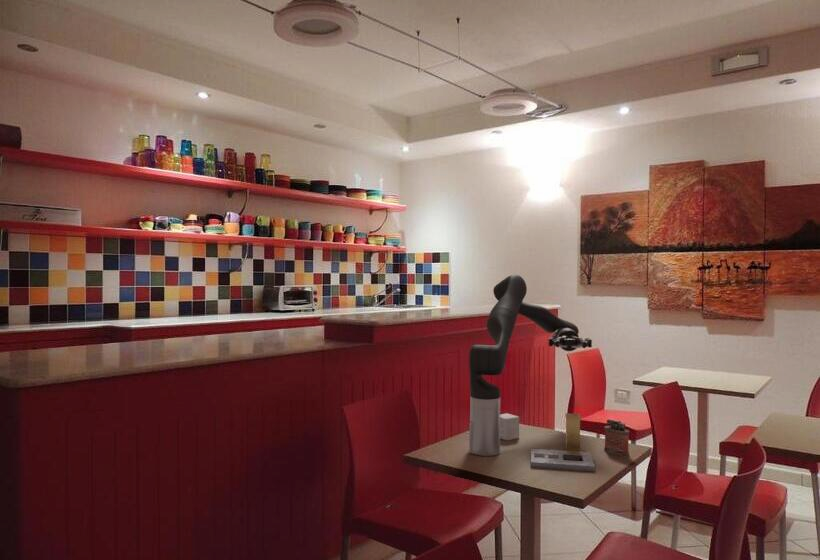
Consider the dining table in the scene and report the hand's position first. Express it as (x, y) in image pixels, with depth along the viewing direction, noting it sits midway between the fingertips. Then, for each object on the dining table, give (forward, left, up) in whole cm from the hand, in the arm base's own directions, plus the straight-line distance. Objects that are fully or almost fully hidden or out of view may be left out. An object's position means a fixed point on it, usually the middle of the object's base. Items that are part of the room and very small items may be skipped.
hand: (571, 344), depth 190 cm
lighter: (+13, -11, -32) cm, 36 cm away
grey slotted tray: (-4, -24, -32) cm, 40 cm away
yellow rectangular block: (0, -11, -32) cm, 34 cm away
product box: (-21, -1, -32) cm, 39 cm away
